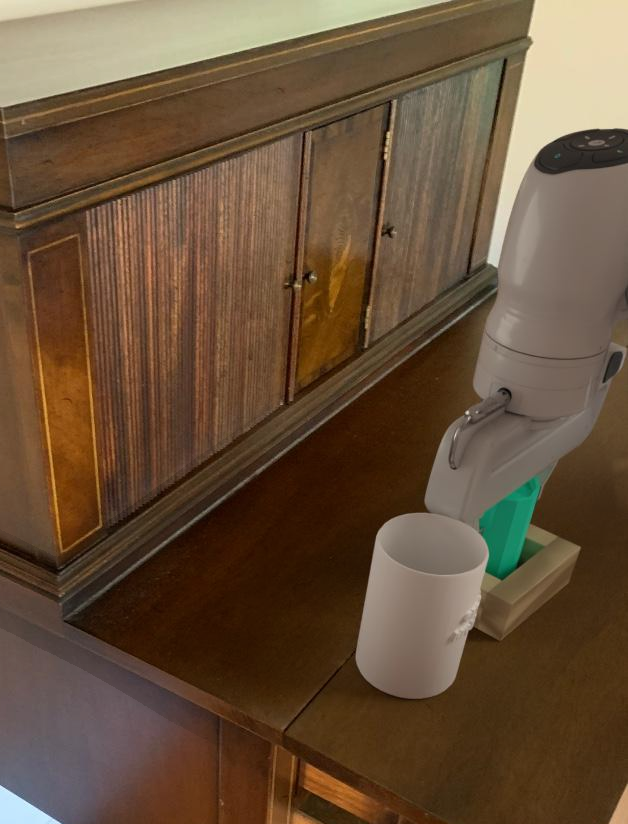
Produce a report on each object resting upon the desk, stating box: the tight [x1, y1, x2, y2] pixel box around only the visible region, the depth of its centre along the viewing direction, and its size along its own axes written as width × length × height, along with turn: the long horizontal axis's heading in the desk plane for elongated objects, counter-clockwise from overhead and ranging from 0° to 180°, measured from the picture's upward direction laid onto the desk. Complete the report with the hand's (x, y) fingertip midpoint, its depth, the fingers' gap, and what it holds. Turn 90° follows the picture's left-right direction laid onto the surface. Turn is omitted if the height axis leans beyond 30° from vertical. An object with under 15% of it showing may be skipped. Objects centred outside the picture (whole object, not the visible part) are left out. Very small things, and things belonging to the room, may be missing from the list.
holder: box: [472, 522, 582, 642], centre depth 81 cm, size 11×11×4 cm
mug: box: [355, 512, 489, 700], centre depth 71 cm, size 8×12×12 cm
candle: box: [479, 475, 540, 581], centre depth 78 cm, size 6×6×12 cm
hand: (496, 522), depth 78 cm, fingers open, 8 cm apart
